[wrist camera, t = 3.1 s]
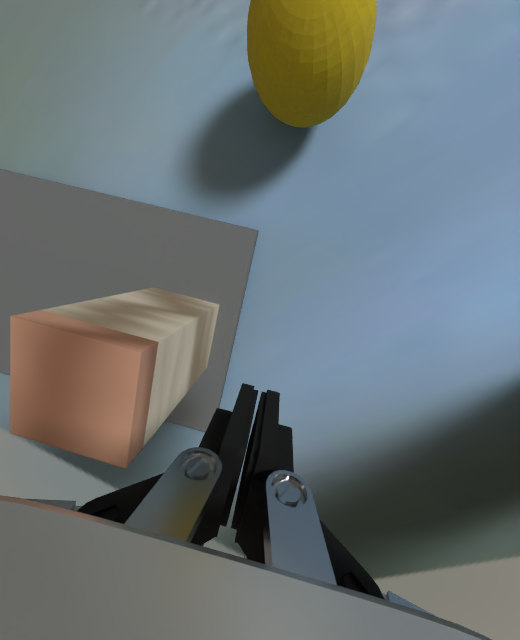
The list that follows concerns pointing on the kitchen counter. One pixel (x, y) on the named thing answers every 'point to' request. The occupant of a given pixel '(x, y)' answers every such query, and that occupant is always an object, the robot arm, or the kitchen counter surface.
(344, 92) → the lemon
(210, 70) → the kitchen counter surface
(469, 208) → the kitchen counter surface
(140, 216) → the rubber mat
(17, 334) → the wooden block
